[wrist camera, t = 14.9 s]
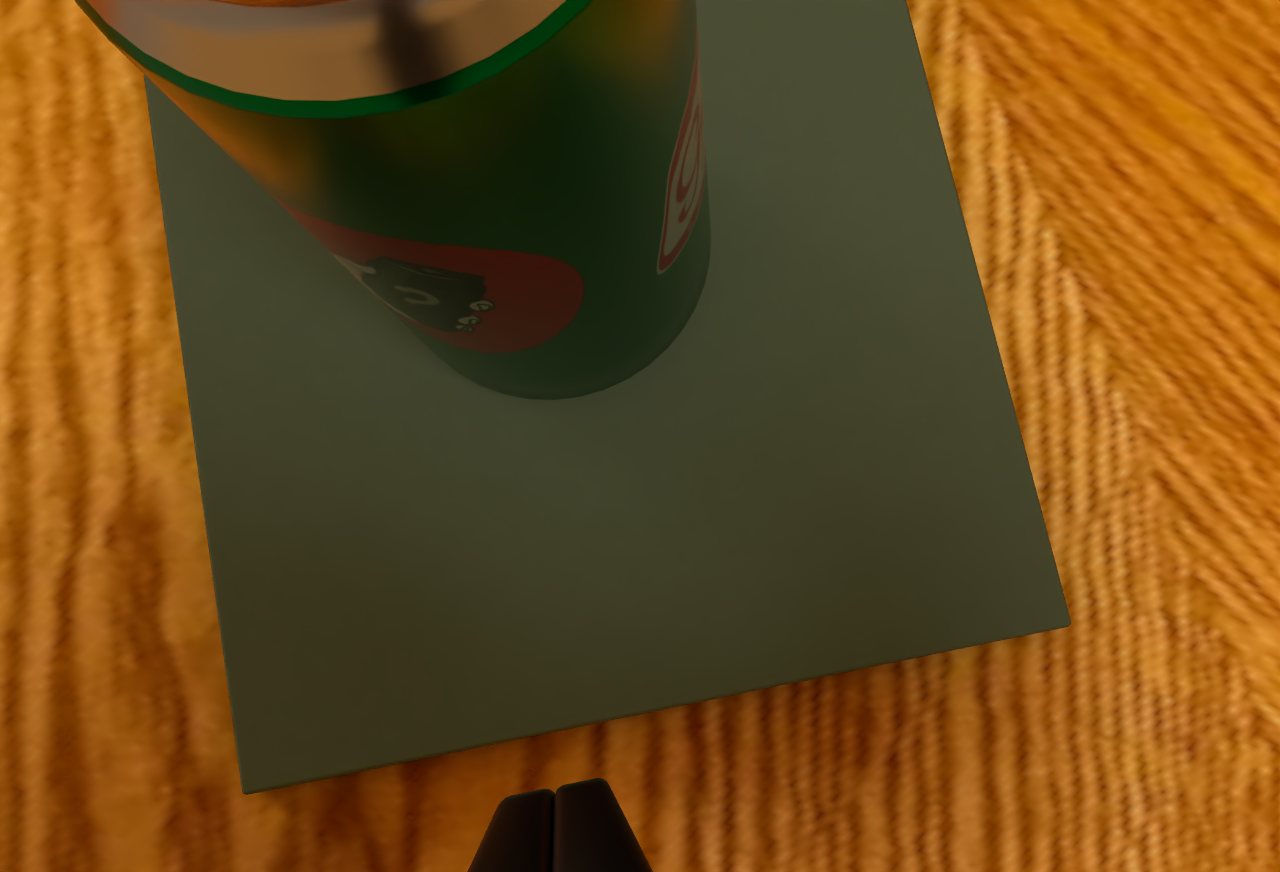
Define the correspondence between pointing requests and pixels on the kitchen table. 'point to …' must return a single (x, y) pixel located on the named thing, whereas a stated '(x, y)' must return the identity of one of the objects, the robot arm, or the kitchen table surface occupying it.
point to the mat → (614, 441)
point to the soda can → (467, 161)
